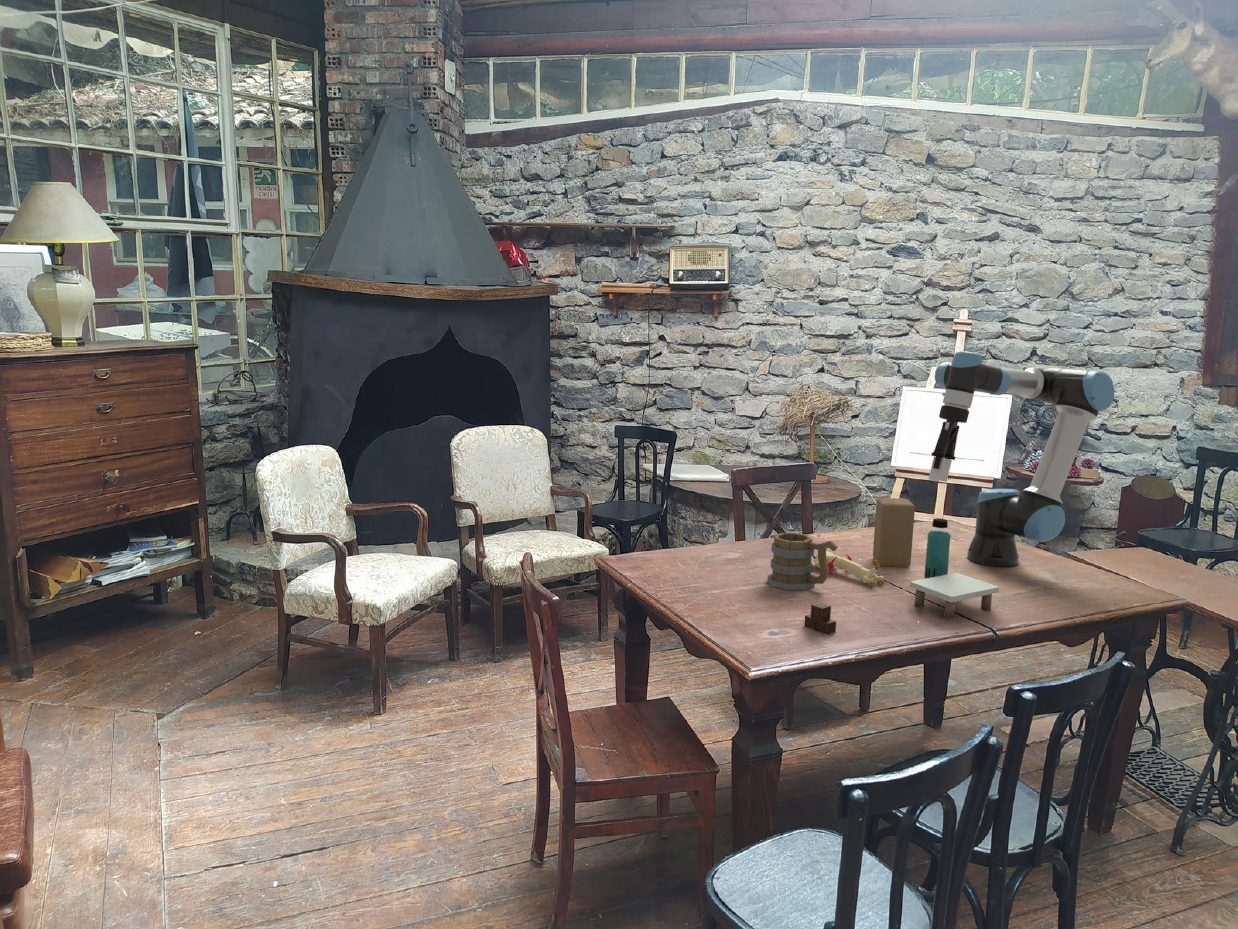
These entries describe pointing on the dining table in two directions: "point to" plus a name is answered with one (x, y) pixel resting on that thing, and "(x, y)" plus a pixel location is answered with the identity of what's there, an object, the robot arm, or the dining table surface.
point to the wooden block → (893, 532)
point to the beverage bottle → (937, 550)
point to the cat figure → (853, 568)
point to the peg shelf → (953, 591)
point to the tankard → (797, 561)
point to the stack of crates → (820, 619)
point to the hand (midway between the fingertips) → (937, 480)
